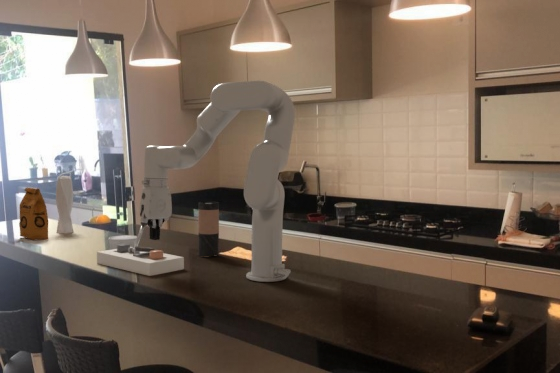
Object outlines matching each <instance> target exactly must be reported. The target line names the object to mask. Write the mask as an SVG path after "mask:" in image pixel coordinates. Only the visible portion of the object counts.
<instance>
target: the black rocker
mask: <svg viewBox="0 0 560 373" xmlns="http://www.w3.org/2000/svg"><path fill="white" fill-rule="evenodd" d="M152 250H155V248H153V247H145V246H144V247H140V246H137V247H136V250H135V251H140V252H150V251H152Z"/></svg>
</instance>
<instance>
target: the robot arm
mask: <svg viewBox="0 0 560 373" xmlns="http://www.w3.org/2000/svg"><path fill="white" fill-rule="evenodd" d="M209 98H210V99H209V100H210V103H209V104H208V105H207V106H206V107H205V108H204V109H203V111H201V112H200V113H199V114H198V116H197V118H196V129H195V131H194V132H193V134H192V135H191V136H190V138H189V139H188V140H187V141H186V142H185V143H184V144H183V145H169V146H165V145H148V146H146V147H145V148H144V161H143V162H144V163H143V164H144V169H143V170H144V171H143V173H144V174H143V175H144V176H143V177H144V178H143V180H141V185H143V187H142V190H141V192H140V198H139V199H140V200H139V217H140V223H141V222H143V223H146V224H147V227H148V228H149V239H150V240H153V241H157V240H158V241H159V240H160V238H161V228H162V226H163V224H164V222H168V221H169V220H170V218H171V217H172V214H173V208H172V207H173V204H172V194H171V188H170V187H169V186H168V185H169V184H168V182H169V181H168V180H169V170H182V169H185V170H186V169H190V168H192V167H194V166H195V165H196V164H197V163H198V162H200V160H201V159H202V158H204V156H205V155H206V154H207V153H208V152H209V151H210V149H211V147H212V146H213V144H214V143H215V141H216V139H217V137H218V136H219V134H220V133H222V131H223V130H224V129H225V128H226V127H227V126H228V125H229V123H230V122H231V121H232V120H234V118H235V117H236V116H238V114H239V113H240V112H242V111H255V110H259V111H261V112H266V113H267V116H268V117H267V120H266V123H265V127H264V133H263V139H262V142H260V143H258V144H257V145H255V146H254V147H253V149H252V151H251V153H250V155H249V158H248V163H247V168H246V169H247V170H246V175H245V181H244V185H243V186H244V187H243V198H244V200H245V203H246V204H247V205H248V206H249V208H251V209H252V214H251V215H252V216H251V264H250V265H251V268H250V269H251V271H248V272H247V273H246V274H245V275H246V279H247V280H249V281H254V282H261V283H264V282H265V283H271V282H273V283H274V282H280V281H284V280H286V279H287V278H288V277H289V275H290V274H291V272H292V271H291V269H289V268H286V267H285V266H286V265H285V264H286V263H283V227H284V226H283V225H284V224H283V220H284V207H285V206H284V205H285V196H286V195H285V188H284V186H283V184H282V182H281V181H280V179H279V174H280V172H282V171H283V170H284V169H285V168H286V167H287V165H288V161H289V157H290V156H289V155H290V148H291V143H292V137H293V131H294V124H295V119H296V118H295V117H296V111H295V110H296V109H295V104H294V102H293V100H292V98H291V97H290V95H288V93H287V92H286V91H285V90H283V89H282V88H281V87H279V86H277V85H275V84H273V83H270V82H267V81H264V80H249V81H248V80H247V81H246V80H245V81H230V82H222V83H218V84H217V85H215V86H214V87H213V89H212V90H211V92H210V96H209Z"/></svg>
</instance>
